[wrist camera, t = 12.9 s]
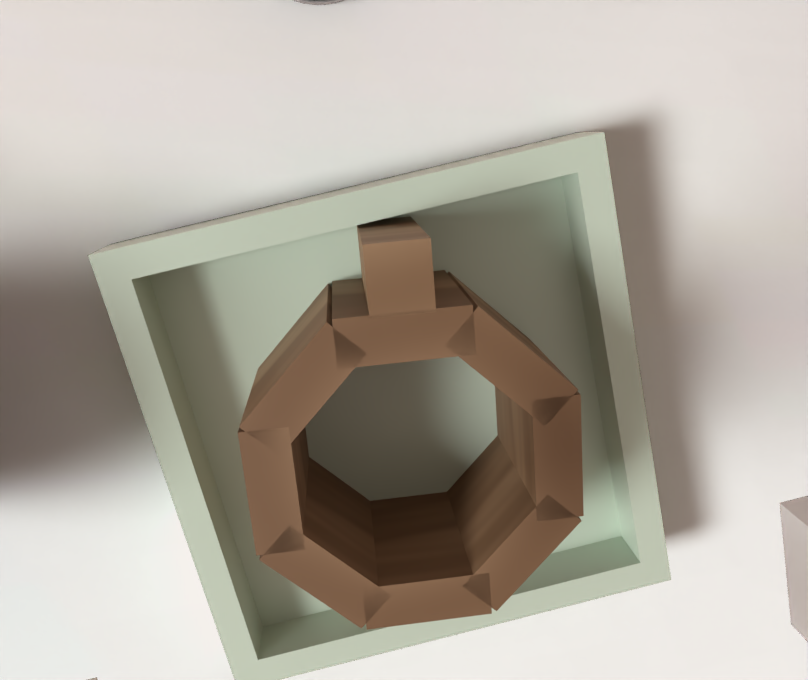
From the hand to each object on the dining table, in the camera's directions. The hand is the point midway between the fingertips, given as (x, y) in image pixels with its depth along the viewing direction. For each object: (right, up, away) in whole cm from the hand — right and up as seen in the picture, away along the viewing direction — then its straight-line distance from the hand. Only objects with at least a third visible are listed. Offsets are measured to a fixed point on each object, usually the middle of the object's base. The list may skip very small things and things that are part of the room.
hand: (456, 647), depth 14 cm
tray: (-1, +3, +13) cm, 14 cm away
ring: (-1, +3, +13) cm, 13 cm away
